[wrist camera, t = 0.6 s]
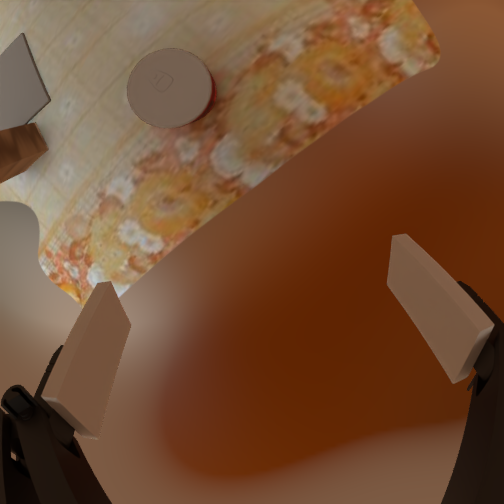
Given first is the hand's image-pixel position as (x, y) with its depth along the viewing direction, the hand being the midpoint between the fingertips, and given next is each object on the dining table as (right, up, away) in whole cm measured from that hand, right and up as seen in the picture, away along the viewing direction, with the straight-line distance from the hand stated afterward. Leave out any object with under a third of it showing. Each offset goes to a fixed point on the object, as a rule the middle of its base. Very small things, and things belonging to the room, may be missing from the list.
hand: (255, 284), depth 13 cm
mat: (-37, +25, +14) cm, 47 cm away
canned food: (-8, +21, +19) cm, 29 cm away
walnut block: (-33, +17, +19) cm, 42 cm away
